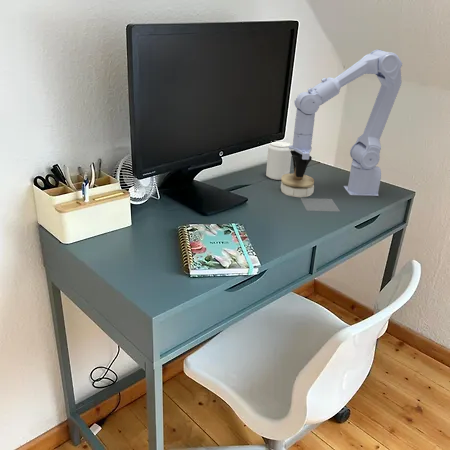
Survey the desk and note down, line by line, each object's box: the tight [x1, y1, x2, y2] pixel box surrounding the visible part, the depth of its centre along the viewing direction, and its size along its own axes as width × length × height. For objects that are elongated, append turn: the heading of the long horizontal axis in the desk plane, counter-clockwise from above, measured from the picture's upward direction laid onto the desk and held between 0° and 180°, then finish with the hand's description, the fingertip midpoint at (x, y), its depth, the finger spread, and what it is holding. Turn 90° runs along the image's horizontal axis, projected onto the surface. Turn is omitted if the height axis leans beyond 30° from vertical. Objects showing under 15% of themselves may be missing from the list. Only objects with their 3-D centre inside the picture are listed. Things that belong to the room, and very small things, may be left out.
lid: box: [280, 167, 315, 187], centre depth 158 cm, size 10×10×4 cm
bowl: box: [280, 180, 315, 198], centre depth 160 cm, size 10×10×3 cm
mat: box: [299, 197, 341, 212], centre depth 151 cm, size 10×10×1 cm
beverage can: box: [265, 140, 293, 181], centre depth 171 cm, size 8×8×12 cm
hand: (298, 175), depth 158 cm, fingers closed on lid, 3 cm apart
